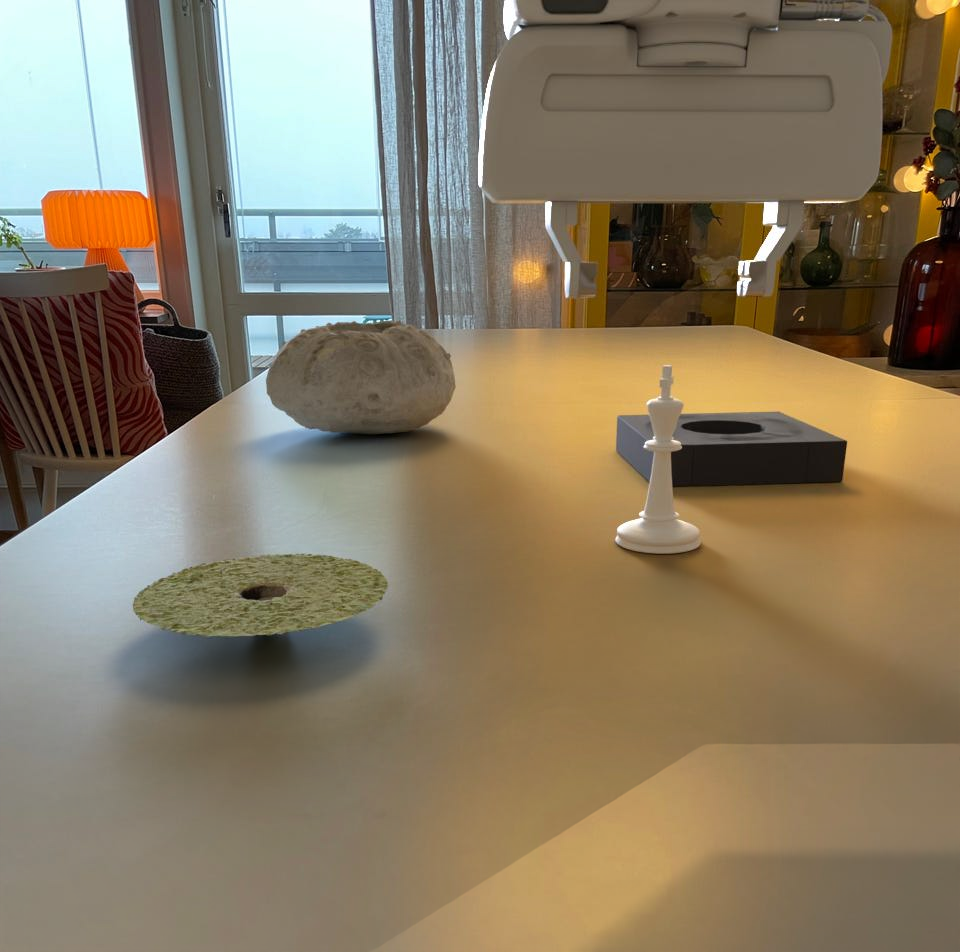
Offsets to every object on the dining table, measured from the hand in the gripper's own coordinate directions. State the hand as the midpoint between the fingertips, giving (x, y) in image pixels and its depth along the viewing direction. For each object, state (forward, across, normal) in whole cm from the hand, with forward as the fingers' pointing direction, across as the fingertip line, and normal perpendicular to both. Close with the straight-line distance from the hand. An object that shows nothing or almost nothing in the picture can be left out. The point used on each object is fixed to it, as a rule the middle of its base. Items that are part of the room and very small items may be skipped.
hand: (667, 297), depth 52 cm
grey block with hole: (+14, -10, -21) cm, 27 cm away
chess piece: (+14, 0, 0) cm, 14 cm away
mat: (+14, +21, +12) cm, 28 cm away
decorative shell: (+14, +19, -41) cm, 47 cm away
